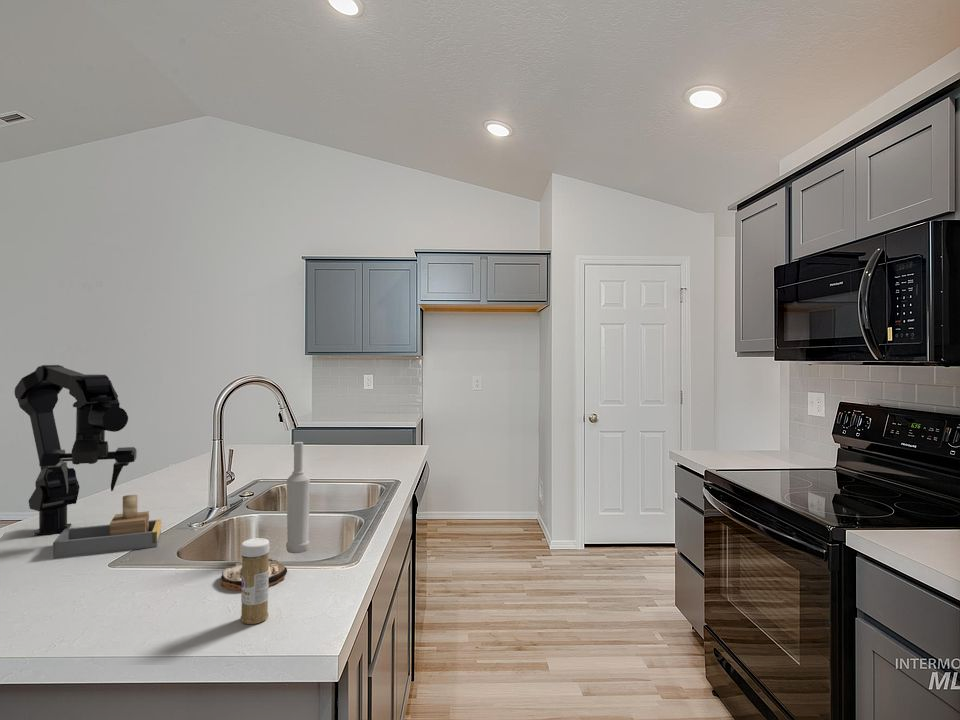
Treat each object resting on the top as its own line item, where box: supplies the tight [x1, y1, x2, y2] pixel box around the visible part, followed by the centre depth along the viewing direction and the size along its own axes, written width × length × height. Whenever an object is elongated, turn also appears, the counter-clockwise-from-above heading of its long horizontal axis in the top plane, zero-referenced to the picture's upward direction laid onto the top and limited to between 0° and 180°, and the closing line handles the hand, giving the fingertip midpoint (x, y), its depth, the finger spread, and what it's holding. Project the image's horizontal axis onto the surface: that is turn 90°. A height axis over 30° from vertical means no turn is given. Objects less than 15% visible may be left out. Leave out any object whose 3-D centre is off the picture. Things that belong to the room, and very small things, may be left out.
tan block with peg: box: [109, 494, 150, 536], centre depth 138 cm, size 8×7×10 cm
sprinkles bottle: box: [240, 537, 270, 625], centre depth 99 cm, size 5×5×13 cm
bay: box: [52, 519, 162, 559], centre depth 136 cm, size 11×20×4 cm, turn 114°
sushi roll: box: [220, 558, 288, 591], centre depth 117 cm, size 15×15×4 cm
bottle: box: [285, 441, 311, 554], centre depth 134 cm, size 5×5×25 cm
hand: (89, 492), depth 138 cm, fingers open, 9 cm apart
